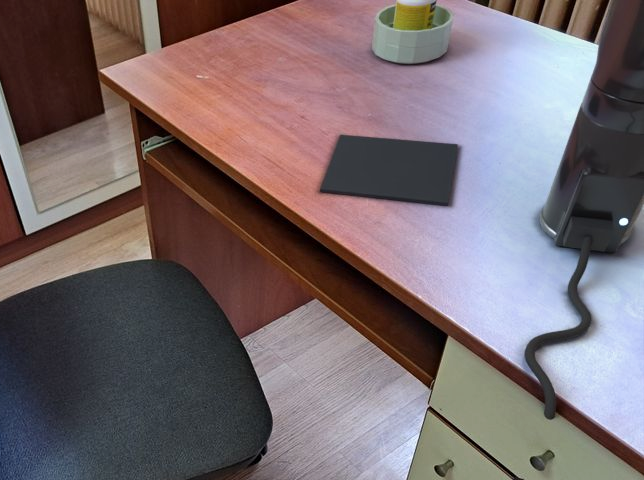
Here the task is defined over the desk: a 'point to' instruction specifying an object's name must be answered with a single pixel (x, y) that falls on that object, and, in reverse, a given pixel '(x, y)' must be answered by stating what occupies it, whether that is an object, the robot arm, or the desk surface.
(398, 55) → the bowl
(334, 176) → the mat
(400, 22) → the pill bottle
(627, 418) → the desk surface
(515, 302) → the desk surface
